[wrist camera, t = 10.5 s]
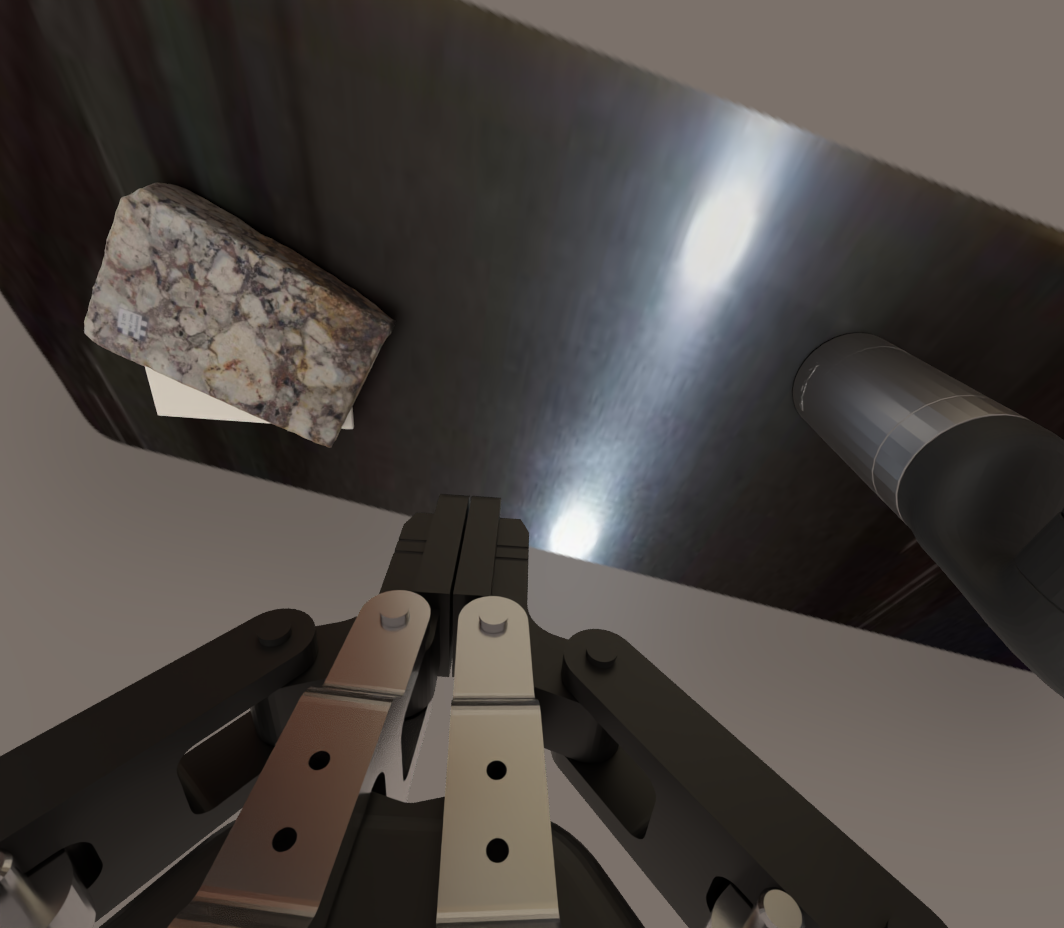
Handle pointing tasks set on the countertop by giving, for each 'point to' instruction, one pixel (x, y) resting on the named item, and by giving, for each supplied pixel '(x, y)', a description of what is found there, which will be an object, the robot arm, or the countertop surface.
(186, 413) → the mat
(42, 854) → the robot arm
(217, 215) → the stone block
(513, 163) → the countertop surface
